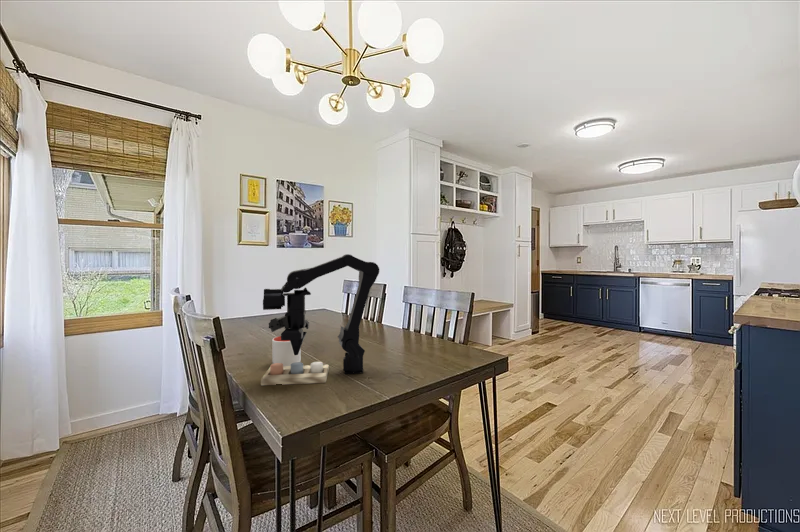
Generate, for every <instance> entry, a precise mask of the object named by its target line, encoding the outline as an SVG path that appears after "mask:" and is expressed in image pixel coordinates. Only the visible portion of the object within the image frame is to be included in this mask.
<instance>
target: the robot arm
mask: <svg viewBox="0 0 800 532" xmlns="http://www.w3.org/2000/svg"><path fill="white" fill-rule="evenodd" d="M346 267H349V268H351V269H353V270H356V271H358V287H357V290H356V292H355V297H354V299H353V303H352V306H351V310H350V314H349V318H348V322H347V324H346V325H345V326H340V330H339V334H338V336H337V338H338V343H339V345H340V347H341V348H342V349H343V350H344V351H345V353H344V357H343V358H342V360H343V361H342V362H343V363H342V365H343V366H342V367H343V369H342V370H343V371H344V375H351V374H352V375H354V374H357V375H358V374H364V355H365V352H366V350H365V349H364V348H363V346H361V344H360V342H359V341H360V326H361V321H362V318H363V314H364V313H365V309H366V305H367V301H368V298H369V295H370V294H369V293H370V291H371V288H372V286H373V285H374V284H375V282H376V280H377V278H378V276H379V274H380V267H379V265H378V264H377V263H376V262H374V261H373V262H372V261H365V260H363V259H360V258H357V257H355V256H353V255H352V254H343V255H342V256H339V257H337V258H334V259H332V260H329V261H326V262H323V263H320V264H319V265H315V266H313V267H308V268H303V269H302V268H301V269H296V270H293V271H291V272H289V273H288V274H287V276H286V277H287V278H286V282H285V283H284V284H283V285H282V287H281V288H275V289H274V288H271V289H270V288H264V289H263V298H262V299H263V300H262V309H263V311H271V310H282V308H284V307H286V312H285V313H284V316H281V317H279V318H277V317H274V318H271V319H270V320H269V322H268V329H270V331H271V333H273V332H276V331H277V330H280V329H282V328H284V330H283V331H282V332H281V333H280V336H281V340H290V341H291V345H292V348H293V352H294V355H298V353H299V351H300V348H301V347H302V346H303V342H304V340H305V338H306V335H307V331H304V330H303V329H304V328H306V330H308V329H309V328H310V322H309V321H308V320H307V319H306V313H307V310H306V296H311V295H312V293H311V291H309V290H308V289H307V287H305V286H307V285H308V284H309V283H311V282H313V281H314V280H316V279H317V278H320V277H322V276H325V275H327V274H330V273H333V272H336V271H339V270H341V269H343V268H346ZM303 287H304V288H303ZM301 288H303V289H301ZM291 291H293V292H291Z"/></svg>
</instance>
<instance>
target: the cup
mask: <svg viewBox="0 0 800 532" xmlns="http://www.w3.org/2000/svg"><path fill="white" fill-rule="evenodd" d="M271 342H272V345H271V346H272V348H271V349H272V355H271V356H272V358H271V359H272V364H274V363H282V364H283V366H291V364H292V363H296V362H302V360H301V358H302V357H301V354H302V351H301V350H302V349H301V348H300V351H299V353H298V355H294V352H293V348H292V345H291V341H290V340H281V335H280V336H276V337H275V336H274V337H273V338H272V340H271Z"/></svg>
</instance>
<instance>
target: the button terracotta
mask: <svg viewBox="0 0 800 532" xmlns="http://www.w3.org/2000/svg"><path fill="white" fill-rule="evenodd" d="M269 368H270V375H283V364H282V363H274V364H273V363H272V364H270V365H269Z"/></svg>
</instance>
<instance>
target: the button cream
mask: <svg viewBox="0 0 800 532" xmlns="http://www.w3.org/2000/svg"><path fill="white" fill-rule="evenodd" d="M310 365H311V373H323V365H324V363H323V362H322V361H313V362H310Z"/></svg>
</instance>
